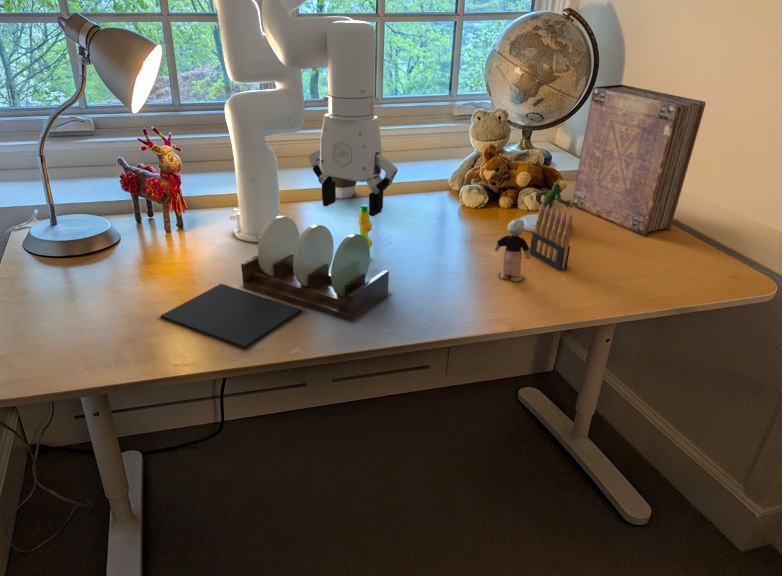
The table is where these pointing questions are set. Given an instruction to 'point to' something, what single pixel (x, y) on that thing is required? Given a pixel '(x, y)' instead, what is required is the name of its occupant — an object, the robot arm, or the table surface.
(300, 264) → the cream plate
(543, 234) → the ammunition clip
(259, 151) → the robot arm
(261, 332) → the mat
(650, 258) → the table surface
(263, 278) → the plate rack
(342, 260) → the green plate
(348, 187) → the coffee cup
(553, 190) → the monster figurine
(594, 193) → the book
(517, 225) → the grandmother figurine
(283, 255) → the cream plate
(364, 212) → the toy figure
